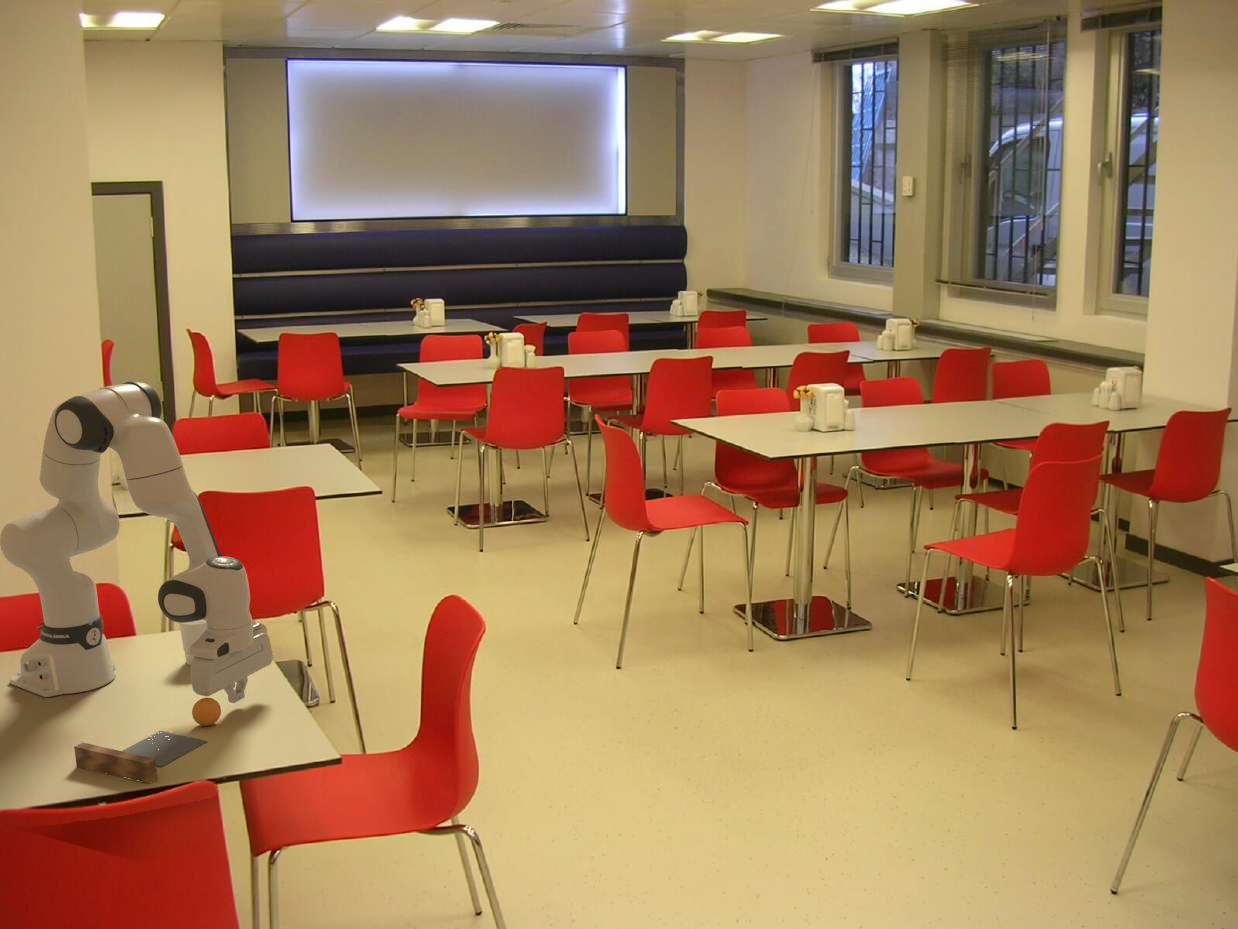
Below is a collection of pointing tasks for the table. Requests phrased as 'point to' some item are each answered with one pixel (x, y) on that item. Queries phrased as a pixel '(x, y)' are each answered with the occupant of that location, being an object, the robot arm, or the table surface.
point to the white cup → (191, 635)
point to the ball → (206, 711)
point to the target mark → (164, 747)
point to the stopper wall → (115, 762)
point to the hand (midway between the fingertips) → (236, 700)
